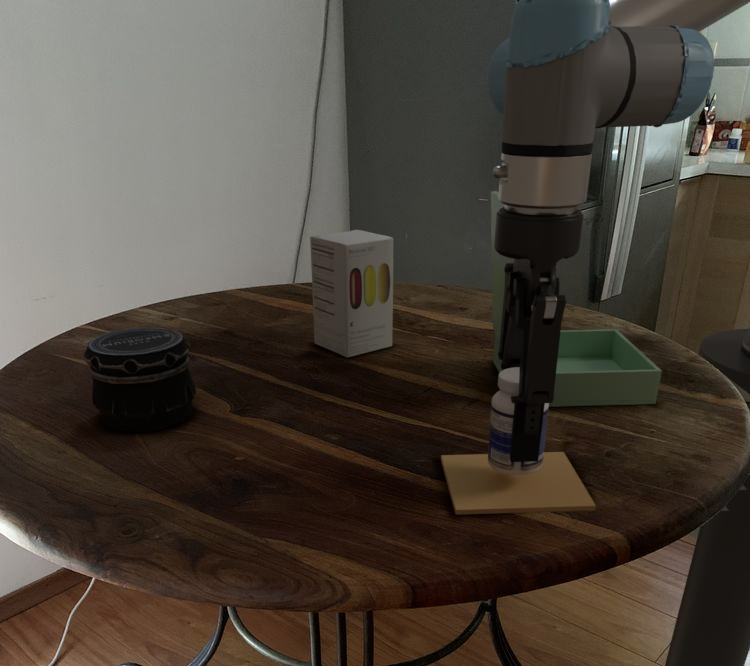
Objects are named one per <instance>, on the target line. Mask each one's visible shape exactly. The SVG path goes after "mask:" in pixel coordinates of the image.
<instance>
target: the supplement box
mask: <svg viewBox="0 0 750 666" xmlns="http://www.w3.org/2000/svg"><path fill="white" fill-rule="evenodd" d="M309 239H310V241H309V243H310V265H311V267H310V268H311V287H312V289H311V290H312V312H313V313H312V315H313V335H314V337H313V338H314V339H313V340H314V344H315V345H317V346H320V347H321V348H323V349H326V350H329V351H331V352H333V353H335V354H338V355H340V356H342V357H345V358H351V357H355V356H360V355H363V354H367V353H371V352H374V351H379V350H382V349H386V348H390V347H393V330H394V329H393V328H394V327H393V325H394V324H393V323H394V322H393V321H394V320H393V319H394V317H393V315H394V237H392V236H388V235H384V234H379V233H375V232H374V233H373V232H370V231H367V230H362V229H353V230H348V231H339V232H333V233H326V234H319V235H311V236H310V237H309Z"/></svg>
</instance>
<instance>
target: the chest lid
mask: <svg viewBox="0 0 750 666" xmlns="http://www.w3.org/2000/svg"><path fill="white" fill-rule="evenodd" d="M498 195H499V191H497V190H492V191H490V224H491V225H490V227H491V234H490V235H491V280H492V281H491V293H492V295H491V297H492V330H493V331H494V334H495V333H496V335H497V336H498V338H499V340H500V333H501V322H502V311H503V300H504V289H505V272H504V267H505V265H506V263H514V259H513V258H508V257H505V256H502V255H500V254H499V253H497V252H496V250H495V248H494V242H495V228H496V214H497V212H498V211H499V209H501V208H503V207H505V204H502V203H501V202H500V201H499V200H498Z"/></svg>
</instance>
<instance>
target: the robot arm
mask: <svg viewBox="0 0 750 666" xmlns="http://www.w3.org/2000/svg"><path fill="white" fill-rule="evenodd" d="M748 4H750V0H518V1H517V3H516V4H515V6H514V8H513V11H512V17H511V21H510V28H509V35H508V38H507V39H505V40H504V41H502V42H501V43H500V45H498V46H497V48H496V50H495V51H494V53H493V54H492V56H491V59H490V61H489V64H488V68H487V75H486V82H487V83H486V84H487V91H488V95H489V99H490V101H491V104H492V105H493V106H494V108H495V109H496V110H497V111H498V112H499V113H500V114H502V115H503V117H502V118H503V119H502V133H501V134H502V135H501V157H500V161H501V165H496V166H494V168H493V173H492V176H493V177H494V178H495V179H499V181H498V182H499V183H498V192H499V195H498V200H499V201H500V202H501V203H502V204H505V207H503V208H501V209H499V211H498V212H497V214H496V228H495V242H494V248H495V250H496V252H497V253H499V254H500V255H502V256H505V257H508V258H513V259H514V263H506V265H505V267H504V272H505V289H504V300H503V311H502V322H501V333H500V344H499V352H498V357H499V360H502V363H501V368H502V370H505V369H508V368H513V367H520V371H519V394H518V396H511V401H512V403H515V405H514V416H513V426H512V437H511V448H510V458H509V459H510V461H511V462H532V461H538V457H539V449H540V440H541V431H542V423H543V414H544V405H545V403H552V402H553V399H554V388H555V378H556V369H557V359H558V350H559V340H560V331H561V330H562V322H563V317H564V313H565V308H566V305H567V298H566V295H565V294H560V284H561V283H560V277H557V263H558V262H559V261H561V260H563V259H570V258H573V257H575V256H576V255H577V254H578V252H579V251H580V247H581V239H582V232H583V223H584V216H585V215H584V214H583V212H582V210H581V209H579V207H580V206H582V205H584V203H586V202H587V199H588V190H589V182H590V175H591V166H592V159H593V153H592V152H593V145H594V139H595V134H596V129H602V128H628V127H629V128H630V127H631V128H633V127H653V128H660V127H662V126H663V125H670V124H676V123H677V124H678V123H680V122H683V121H685V120H687V119H689V118H690V117H691V116H692V115H693V114H695V112H696V111H698V109H700V108H701V106H702V105H703V103H704V102H705V100H706V98H707V97H708V95H709V92H710V89H711V87H712V81H713V78H714V71H715V55H714V52H713V48H712V46H711V44H710V41H709V40H708V38H707V37H706V36H705V35H704V34H702V33H701V32H702V31H703V30H705V29H707V28H709V27H710V26H712V25H714V24H715V23H717V22H719V21H720V20H722V19H724V18H725V17H728V16H729V15H731V14H732V13H734V12H735V11H737V10H739V9H741V8H743V7H744V6H746V5H748ZM748 329H749V330H748V332H747V333H746V335H745V337H744V339H743V343H742V347H741V350H742V352H743V353H744V354H745V355H747V356H748V357H750V328H748Z"/></svg>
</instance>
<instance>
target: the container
mask: <svg viewBox="0 0 750 666" xmlns="http://www.w3.org/2000/svg"><path fill="white" fill-rule="evenodd" d="M190 349H191V345H190V342H189V341H188V340H187V339H185V337H184V336H183V334H182V333H181V332H179V331H175V330H173V329H168V328H165V327H152V326H151V327H135V328H125V329H120V330H115V331H110V332H107V333H104V334H101V335H98V336H96V337H94V338H93V339H91V340H90V341H89V342H88V343H87V347H86V349H85V351H84V353H83V360H84V362H85V363H87V364H88V365H89V366H88V373H89V375H90V376H91V380H92V392H91V393H92V394H91V395H92V396H91V403H92V404H93V406H95V408H96V410H98V411H99V414H100V415H101V417H102V421H103V423H104V425H106V426H107V427H108V428H110V429H112V430H116V431H122V432H137V433H138V432H139V433H140V432H141V433H142V432H151V431H157V430H162V429H165V428H167V427H170V426H175V425H177V424H180V423H182V422H184V421H185V420H187V419H188V418H189V417H190V416H191V415H192V414H193V407H194V406H193V400H194V398H195V396H196V394H197V387H196V384H195V382H194V380H193V377H192V375H191V372H190V370H189V366H190V362H191V361H190V358H189V355H188V354H189V352H190Z"/></svg>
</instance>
